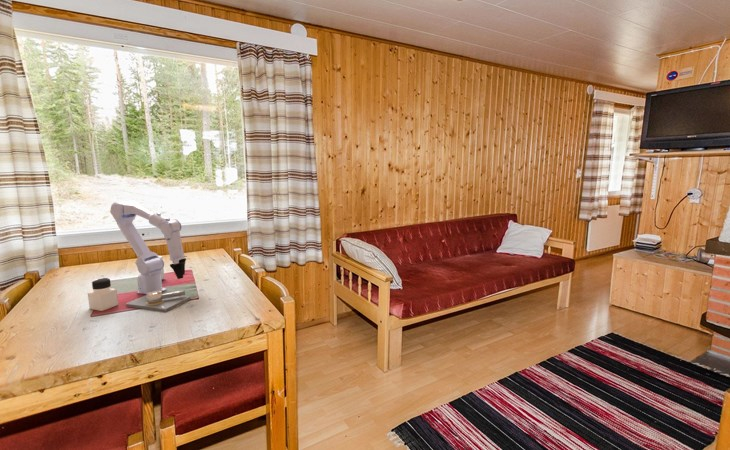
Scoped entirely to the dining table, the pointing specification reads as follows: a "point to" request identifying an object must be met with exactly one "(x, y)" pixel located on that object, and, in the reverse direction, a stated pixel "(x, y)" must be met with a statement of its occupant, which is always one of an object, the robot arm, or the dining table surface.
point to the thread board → (161, 306)
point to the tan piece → (161, 296)
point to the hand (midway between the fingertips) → (181, 276)
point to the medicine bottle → (102, 295)
